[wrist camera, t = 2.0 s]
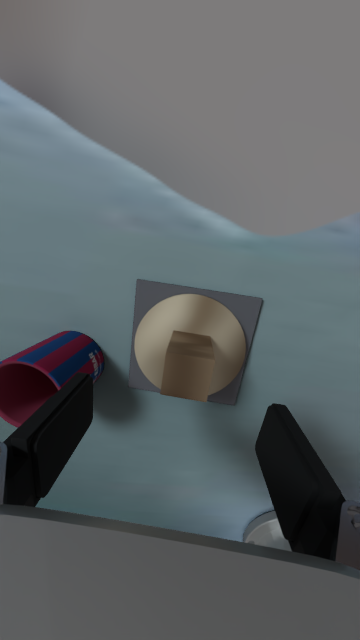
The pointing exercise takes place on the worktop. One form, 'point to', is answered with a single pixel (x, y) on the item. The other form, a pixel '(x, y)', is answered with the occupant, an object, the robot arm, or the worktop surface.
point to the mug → (45, 373)
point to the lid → (190, 346)
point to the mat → (237, 304)
